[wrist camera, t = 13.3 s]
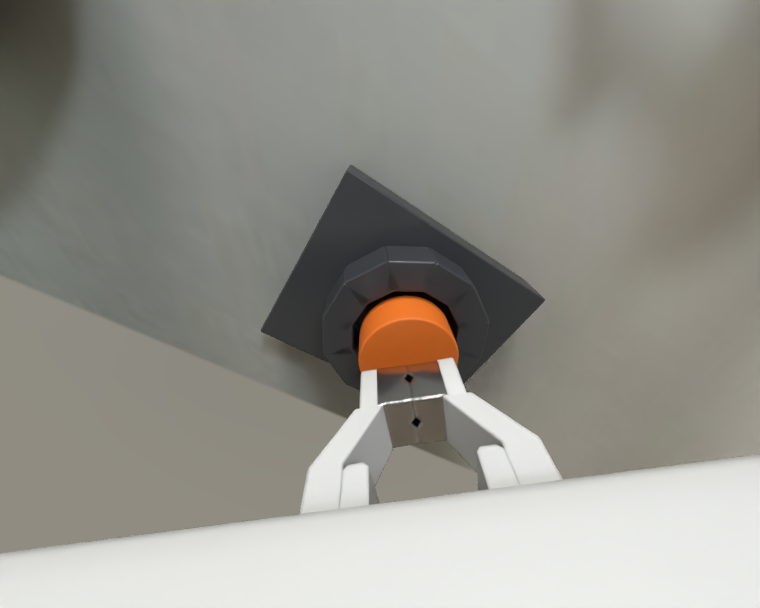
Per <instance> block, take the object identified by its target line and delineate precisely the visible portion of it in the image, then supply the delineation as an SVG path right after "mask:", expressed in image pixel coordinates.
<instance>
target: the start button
mask: <svg viewBox="0 0 760 608" xmlns="http://www.w3.org/2000/svg"><path fill="white" fill-rule="evenodd" d="M451 357H452V358H453V359H454V361H455V363H456V366H457V364H458V358H459V350H458V346H457V343H456V341H455V338H454V336H453V333H452V331H451V328H450V326H449V324H448V321H447V319H446V317H445V315H444V313H443V312H442V311H441V310H440V308H438V307H437V306H436V305H435V304H433V303H432V302H430V301H428V300H426V299H423V298H420V297H416V296H397V297H393V298H389V299H387V300H384V301H382V302H381V303H379V304H377V305H376V306H375V307H373V308H372V309H371V310H370V311H369V312H368V314H367V315H366V316H365V318H364V320H363V322H362V324H361V328H360V336H359V354H358V363H359V368H360V371H361V373H362V371H367V370H375V369H381V368H388V367H396V366H403V365H411V364H417V363H423V362H430V361H437V360H439V359H445V358H451Z"/></svg>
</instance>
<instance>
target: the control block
mask: <svg viewBox="0 0 760 608" xmlns="http://www.w3.org/2000/svg"><path fill="white" fill-rule="evenodd" d="M397 296H416V297H420V298H423V299H426V300H428V301H430V302H432V303H433V304H435V305H436V306H437V307H438V308H440V310H441V311H442V312H443V313H444V315H445V317H446V319H447V321H448V324H449V326H450V328H451V331H452V333H453V336H454V338H455V341H456V343H457V346H458V350H459V358H458V364H457V368H458V371H459V374H460V376H461V379H462V382H463V384H464V383H465V382H466V381H467V380H468V379H469V378H470V377H471V376H472V375H473V374H474V373H475V372H476V371H477V370H478V369H479V368H480V367H481V366H482V365H483V364H484V363H485V362H486V361H487V360H488V359H489V357H490V356H491V355H492V354H493V353H494V352H495V351H496V350H497V349H498V348H499V347H500V346H501V345H502V344H503V343H504V342H505V341H506V340H507V339H508V338H509V337H510V336H511V335H512V334H513V333H514V332H515V331H516V330H517V329H518V328H519V327H520V326H521V325H522V324H523V323H524V321H525V320H526V319H527V318H528V317H529V316H530V315H531V314H532V313H533V312H534V311H535V310H536V309H537V308H538V307H539V306H540V305H541V304H542V303H543V302H544V301H545V299H544V298H543V297H542V296H541V295H540V294H539V293H538V292H537V291H536V290H535V289H533V288H532V287H531V286H530V285H529V284H528V283H527V282H526V281H525V280H524V279H522V278H521V277H519V276H518V275H516V274H515V273H513V272H512V271H510V270H509V269H507V268H506V267H504V266H503V265H501V264H500V263H498V262H497V261H495V260H494V259H492V258H491V257H489V256H488V255H486V254H485V253H483V252H482V251H480V250H479V249H477V248H476V247H474V246H473V245H471V244H470V243H468V242H467V241H465V240H464V239H462V238H461V237H459V236H458V235H456V234H455V233H453V232H452V231H450V230H449V229H447V228H446V227H444V226H443V225H441V224H440V223H438V222H437V221H435V220H434V219H432V218H431V217H429V216H428V215H426V214H425V213H423V212H422V211H420V210H419V209H417V208H416V207H414V206H413V205H411V204H410V203H408V202H407V201H405V200H404V199H402V198H401V197H399V196H398V195H396V194H395V193H393V192H392V191H390V190H389V189H387V188H386V187H384V186H383V185H381V184H380V183H378V182H377V181H375V180H374V179H372V178H371V177H369V176H368V175H366V174H365V173H363V172H362V171H360V170H359V169H357V168H356V167H354V166H353V165H350V166H349V168H348V169H347V171H346V173H345V174H344V176H343V178H342V180H341V182H340V184H339V186H338V187H337V189H336V191H335V193H334V195H333V197H332V199H331V200H330V202H329V204H328V206H327V208H326V210H325V212H324V214H323V215H322V217H321V219H320V221H319V223H318V225H317V227H316V228H315V230H314V232H313V234H312V236H311V238H310V240H309V241H308V243H307V245H306V247H305V249H304V251H303V253H302V254H301V256H300V258H299V260H298V262H297V264H296V266H295V267H294V269H293V271H292V273H291V275H290V277H289V279H288V280H287V282H286V284H285V286H284V288H283V290H282V292H281V293H280V295H279V297H278V299H277V301H276V303H275V305H274V306H273V308H272V310H271V312H270V314H269V316H268V318H267V319H266V321H265V323H264V325H263V327H262V329H261V332H263V333H265V334H267V335H270V336H272V337H274V338H276V339H278V340H280V341H283V342H285V343H287V344H289V345H291V346H294V347H296V348H298V349H300V350H302V351H304V352H307V353H309V354H311V355H313V356H315V357H317V358H320V359H322V360H324V361H326V362H328V363H330V364H331V365H332V366H333V368H334V369H335V370H336V372H337V373H338V374H339V376H340V377H341V378H342V380H343V381H344V382H345V383H346V384H347V385H349V386H352V387H354V388H356V389H358V390H360V382H361V371H360V368H359V363H358V354H359V336H360V328H361V324H362V322H363V320H364V318H365V316H366V315H367V314H368V312H369V311H370V310H371V309H372V308H373V307H375V306H376V305H377V304H379V303H381V302H382V301H384V300H387V299H389V298H393V297H397Z"/></svg>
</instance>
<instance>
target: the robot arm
mask: <svg viewBox="0 0 760 608" xmlns="http://www.w3.org/2000/svg"><path fill="white" fill-rule="evenodd" d="M445 440H447V441H448V443H449V444H450V445H451V446H452V447H453V448H454V449H455V450H456V451H457V452H458V453H459V454H460V455H461V456H462V457H463V458H464V459H465V460H466V461H467V462H468V463H469V465H470V466H471V467H472V468H473V469H474V470H475V471H476V472H477V473H478V491H471V492H464V493H456V494H448V495H441V496H433V497H425V498H417V499H410V500H402V501H394V502H387V503H379V500H378V497H377V493H376V490H375V485H376V483H377V481H378V479H379V477H380V475H381V473H382V471H383V469H384V467H385V465H386V463H387V461H388V459H389V457H390V455H391V452H392V450H393V448H394V447H401V446H407V445H412V444H418V443H427V442H436V441H445ZM0 608H760V454H754V455H747V456H739V457H731V458H724V459H716V460H708V461H701V462H693V463H685V464H678V465H670V466H662V467H654V468H647V469H639V470H631V471H624V472H616V473H608V474H601V475H593V476H585V477H578V478H570V479H562V477H561V475H560V473H559V472H558V470H557V468H556V466H555V464H554V463H553V461H552V459H551V457H550V455H549V454H548V452H547V450H546V448H545V447H544V445H543V443H542V441H541V439H540V438H539V437H538V436H537V435H535V434H534V433H532V432H531V431H529V430H528V429H526V428H525V427H523V426H522V425H520V424H519V423H517V422H516V421H514V420H513V419H511V418H510V417H508V416H507V415H505V414H504V413H502V412H501V411H499V410H498V409H496V408H495V407H493V406H492V405H490V404H489V403H487V402H486V401H484V400H483V399H481V398H480V397H478V396H477V395H475V394H474V393H472V392H469V393H467V392H466V389H465V387H464V384H463V382H462V379H461V376H460V374H459V371H458V368H457V366H456V363H455V361H454V359H453V358H452V357H451V358H445V359H439V360H437V361H430V362H423V363H417V364H411V365H403V366H396V367H388V368H381V369H375V370H367V371H362V373H361V382H360V408H359V409H355V410H354V411H353V412H352V414H351V415H350V416H349V418H348V419H347V420H346V421H345V423H344V424H343V425H342V426H341V428H340V429H339V430H338V431H337V433H336V434H335V435H334V436H333V438H332V439H331V440H330V442H329V443H328V444H327V445H326V447H325V448H324V449H323V450H322V452H321V453H320V454H319V455H318V457H317V458H316V459H315V460H314V462H313V463H312V464H311V466H310V467H309V468H308V471H307V477H306V482H305V487H304V493H303V498H302V503H301V508H300V514H296V515H287V516H279V517H272V518H264V519H256V520H249V521H242V522H234V523H226V524H218V525H210V526H203V527H196V528H187V529H180V530H172V531H165V532H157V533H149V534H141V535H134V536H126V537H118V538H111V539H103V540H96V541H88V542H81V543H73V544H66V545H58V546H50V547H43V548H35V549H28V550H20V551H12V552H5V553H0Z"/></svg>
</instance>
